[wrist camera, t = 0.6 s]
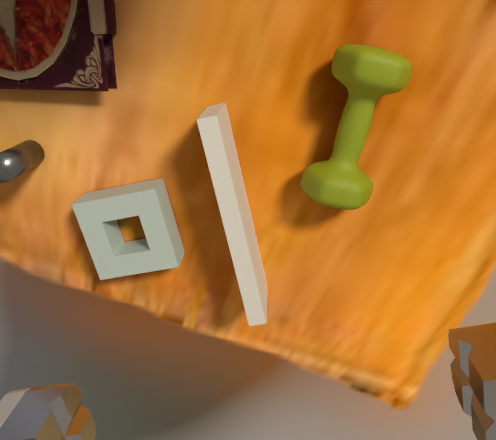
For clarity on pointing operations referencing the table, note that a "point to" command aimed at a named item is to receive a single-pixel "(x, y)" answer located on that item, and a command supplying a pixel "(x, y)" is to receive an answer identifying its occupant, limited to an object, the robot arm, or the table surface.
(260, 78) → the table surface
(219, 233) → the table surface
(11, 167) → the dowel
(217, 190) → the wall
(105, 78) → the book
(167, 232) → the sliding block
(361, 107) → the dumbbell
